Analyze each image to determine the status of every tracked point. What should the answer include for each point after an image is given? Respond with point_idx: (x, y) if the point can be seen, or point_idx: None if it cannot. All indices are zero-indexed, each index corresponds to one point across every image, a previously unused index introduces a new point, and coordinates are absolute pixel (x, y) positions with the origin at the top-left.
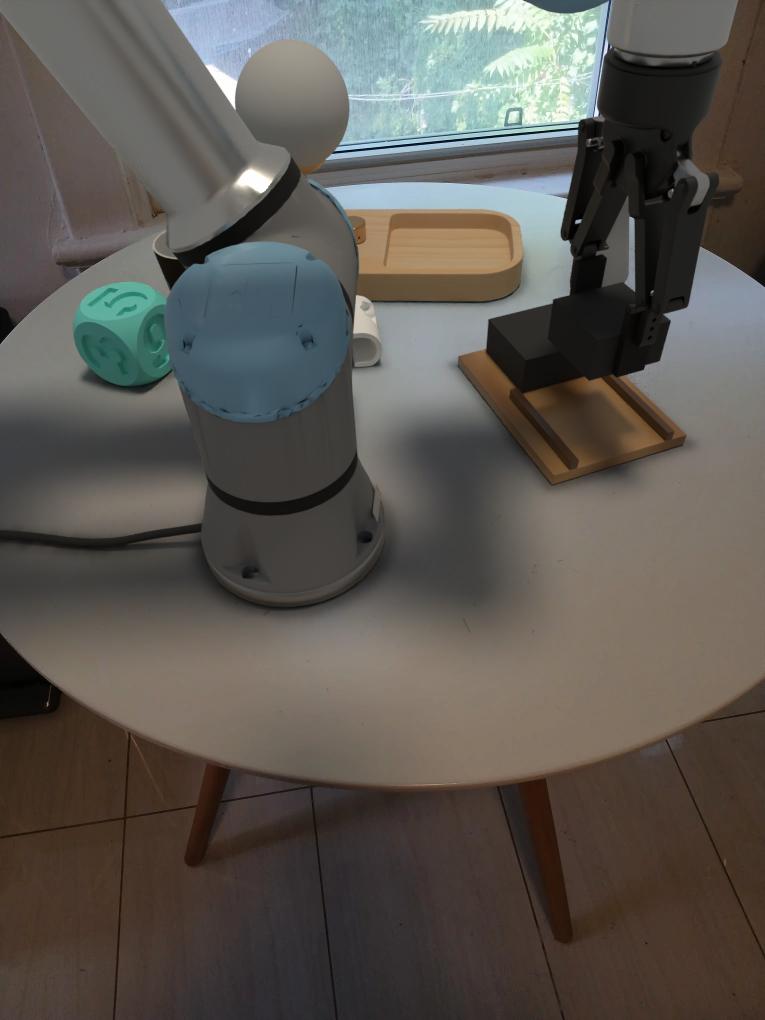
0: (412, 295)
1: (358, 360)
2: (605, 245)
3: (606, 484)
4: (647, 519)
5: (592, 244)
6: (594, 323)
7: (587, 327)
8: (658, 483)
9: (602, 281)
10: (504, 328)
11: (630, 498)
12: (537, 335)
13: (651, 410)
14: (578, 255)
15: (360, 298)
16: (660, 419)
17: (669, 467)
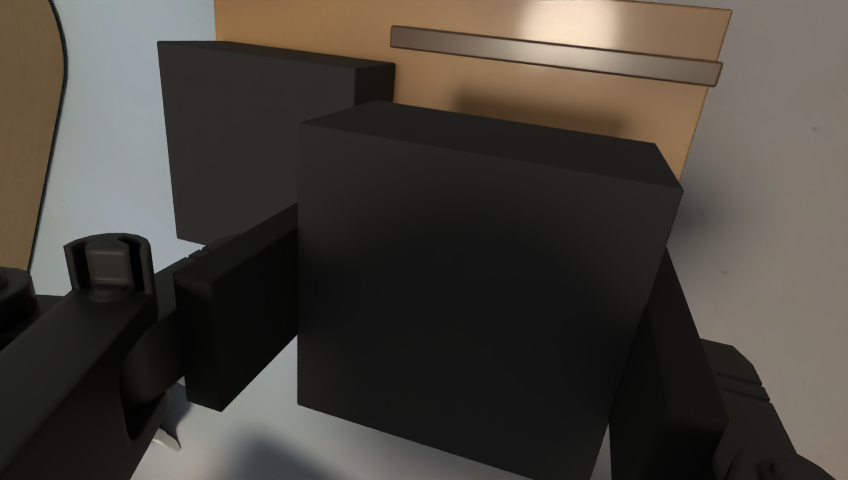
0: (29, 203)
1: (184, 382)
2: (127, 261)
3: (693, 265)
4: (839, 273)
5: (124, 362)
6: (492, 425)
7: (499, 459)
8: (777, 172)
9: (284, 237)
10: (221, 235)
11: (763, 256)
12: (271, 190)
13: (615, 56)
14: (167, 397)
15: None
16: (661, 63)
17: (758, 109)
